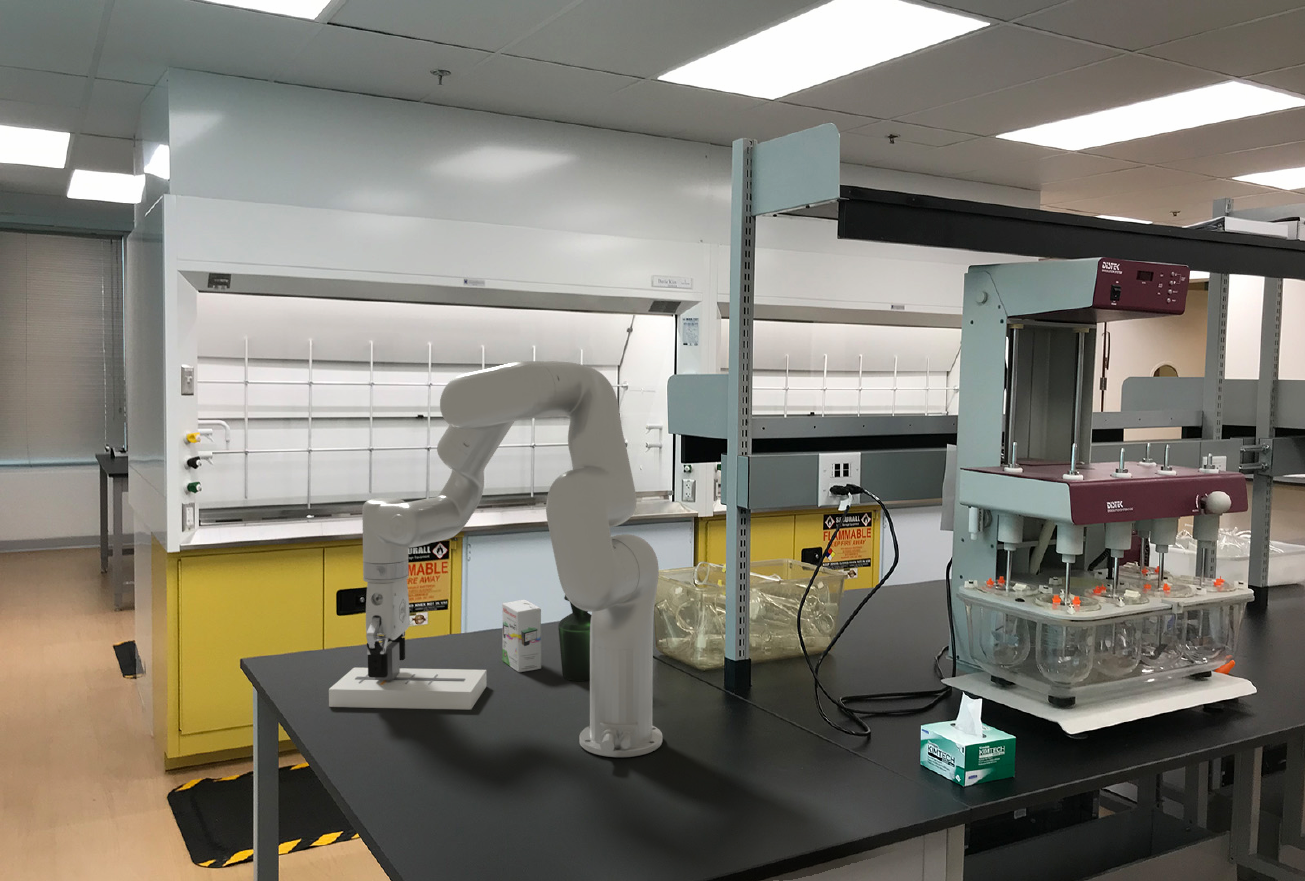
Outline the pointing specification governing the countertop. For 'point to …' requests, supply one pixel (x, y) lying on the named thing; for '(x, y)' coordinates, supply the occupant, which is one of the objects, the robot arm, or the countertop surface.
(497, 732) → the countertop surface
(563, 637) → the potion bottle
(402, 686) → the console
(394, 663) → the fader knob
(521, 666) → the ink box
